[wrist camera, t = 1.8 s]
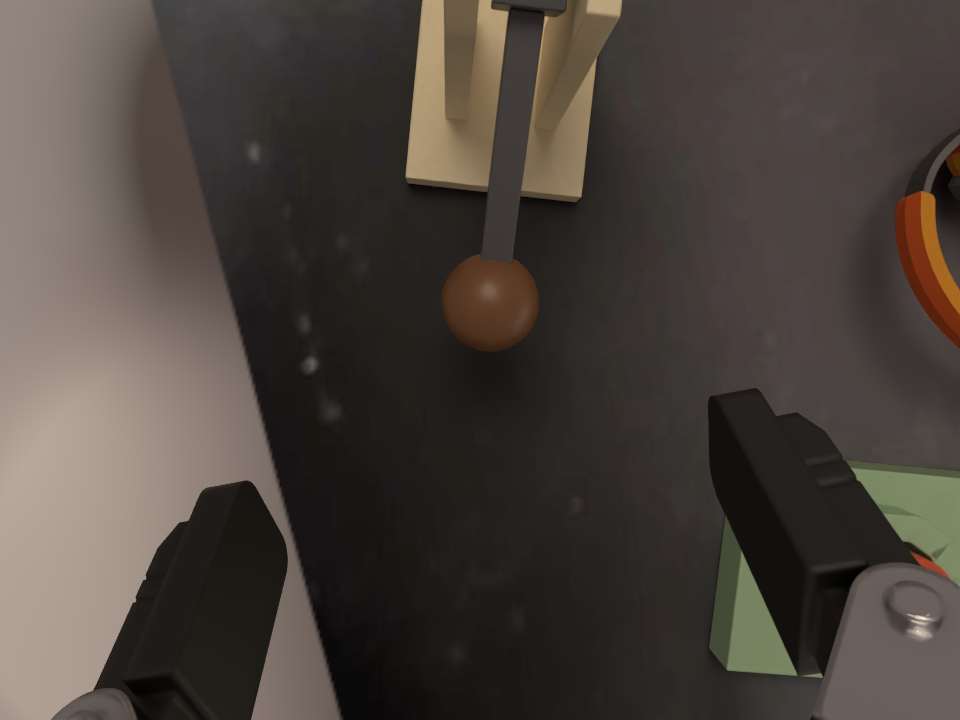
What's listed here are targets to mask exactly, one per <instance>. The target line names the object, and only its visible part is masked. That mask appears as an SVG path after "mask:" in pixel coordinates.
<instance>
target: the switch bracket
mask: <svg viewBox="0 0 960 720" xmlns="http://www.w3.org/2000/svg"><path fill="white" fill-rule="evenodd" d="M491 2H492V0H422V9H421V20H420V30H419V41H418V51H417V62H416V72H415V83H414V93H413V104H412V114H411V125H410V135H409V146H408V156H407V167H406V180H407V183H410V184H419V185H428V186H437V187H446V188H454V189H463V190H472V191H481V192H487V191H488V183H489V174H490V165H491V157H492V148H493V139H494V131H495V122H496V113H497V105H498V96H499V87H500V79H501V70H502V61H503V53H504V44H505V35H506V27H507V18H508V12H507V11H499V10H493V9H491ZM621 6H622V0H568V3H567V9H566V12H564V13H563V14H561V15H559V16H558V17H556V18H554V17H546V16H545V19H544V26H543V34H542V41H541V48H540V56H539V63H538V71H537V78H536V85H535V93H534V100H533V108H532V115H531V123H530V130H529V137H528V145H527V152H526V160H525V167H524V175H523V182H522V189H521V196H525V197H534V198H543V199H551V200H560V201H569V202H577V201H578V200H579V199H580V198H581V196H582V187H583V178H584V169H585V160H586V151H587V142H588V133H589V123H590V114H591V105H592V96H593V87H594V78H595V69H596V60H597V56H598V54H599V53H600V51H601V49H602V47H603V46H604V44H605V42H606V40H607V39H608V37H609V35H610V33H611V31H612V30H613V28H614V26H615V24H616V23H617V21H618V19H619V17H620V15H621Z"/></svg>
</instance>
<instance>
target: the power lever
mask: <svg viewBox="0 0 960 720" xmlns="http://www.w3.org/2000/svg"><path fill="white" fill-rule="evenodd" d="M567 3H568V0H492V2H491V9H493V10H499V11H507V12H508V18H507V27H506V35H505V44H504V53H503V61H502V70H501V79H500V87H499V96H498V105H497V113H496V122H495V131H494V139H493V148H492V157H491V165H490V174H489V183H488V191H487V200H486V209H485V217H484V226H483V235H482V243H481V252H480V254H478V255H475V256H472V257H470V258H468V259H466V260H464V261H463V262H461V263H460V264H459V265H458V266H457V267H455V268H454V270H453V271H452V272H451V273H450V275H449V276H448V278H447V280H446V282H445V284H444V288H443V291H442V296H441V307H442V314H443V318H444V320H445V322H446V325H447V326H448V328H449V330H450V331H451V332H452V334H453V335H454V336H455V337H456V338H457V339H458V340H459V341H461V342H462V343H464V344H465V345H467V346H469V347H471V348H473V349H477V350H480V351H491V352H492V351H500V350H504V349H507V348H509V347H512V346H514V345H515V344H517V343H518V342H520V341H521V340H522V339H523V338H524V337H525V336H526V335H527V334H528V333H529V332H530V330H531V329H532V327H533V325H534V323H535V321H536V318H537V315H538V311H539V294H538V289H537V286H536V283H535V281H534V279H533V277H532V276H531V274H530V273H529V271H528V270H527V269H526V268H525V267H524V266H523V265H522V264H521V263H519V262H518V261H516V260H515V259H513V258H512V256H513V249H514V241H515V234H516V226H517V219H518V212H519V204H520V197H521V189H522V182H523V175H524V167H525V160H526V152H527V145H528V137H529V130H530V123H531V115H532V108H533V100H534V93H535V85H536V78H537V71H538V63H539V56H540V48H541V41H542V34H543V26H544V19H545V16H546V17H554V18H556V17H558V16H559V15H561V14H563V13H564V12H566V9H567Z"/></svg>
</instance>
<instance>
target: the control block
mask: <svg viewBox="0 0 960 720" xmlns="http://www.w3.org/2000/svg"><path fill="white" fill-rule="evenodd" d="M846 462H847V463H848V465H849V466H850V468H851V469H852V470H853V472H854V473H855V475H856V478H857V481H860V482H861V483H862V484H863V486H864V487H865V489H866V490H867V492H868V493H869V494H870V496H871V497H872V499H873V500H874V501H875V503H876V504H877V506H878V507H879V509H880V510H881V511H882V513H883V514H884V516H885V517H886V518H887V520H888V521H889V523H890V524H891V525H892V527H893V528H894V530H895V531H896V533H897V534H898V535H899V537H900V538H901V540H902V541H903V542H904V544H905V545H906V547H907V548H908V550H910V551H912V552H914V553H916V554H918V555H920V556H922V557H924V558H926V559H928V560H930V561H932V562H934V563H935V564H937V565H938V566H940V567H941V568H942V569H943V570H944V571H945V572H946V573H947V574H948V576H949V577H950V579H951V580H952V581H954V582H955V583H956V584H958V585H959V586H960V471H952V470H942V469H931V468H921V467H910V466H899V465H889V464H878V463H868V462H857V461H847V460H846ZM709 649H710V650H711V651H712V652H713V654H714V655H715V656H716V657H717V659H718V660H719V661H720V662H721V664H722V665H723V666H724V667H725V669H726V670H728V671H741V672H754V673H767V674H780V675H794V676H798V675H797V673H796V671H795V669H794V667H793V664H792V662H791V660H790V658H789V655H788V653H787V651H786V649H785V647H784V644H783V642H782V640H781V638H780V635H779V633H778V631H777V629H776V626H775V624H774V622H773V620H772V618H771V615H770V613H769V611H768V609H767V606H766V604H765V602H764V600H763V598H762V595H761V593H760V591H759V589H758V586H757V584H756V582H755V580H754V577H753V575H752V573H751V571H750V569H749V566H748V564H747V562H746V560H745V557H744V555H743V553H742V551H741V549H740V546H739V544H738V542H737V540H736V537H735V535H734V533H733V531H732V528H731V526H730V524H729V522H728V520H727V517H726V515H725V523H724V531H723V539H722V547H721V555H720V563H719V571H718V579H717V587H716V595H715V603H714V612H713V620H712V628H711V636H710V644H709ZM805 676H807V677H820V678H823V676H822V674H821V673H819V674H812V675H805Z"/></svg>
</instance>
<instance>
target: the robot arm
mask: <svg viewBox="0 0 960 720" xmlns="http://www.w3.org/2000/svg"><path fill="white" fill-rule="evenodd" d="M708 420H709V461H710V471H711V476H712V481H713V485H714V488H715V491H716V494H717V497H718V499H719V502H720V504H721V506H722V508H723V511H724V513H725V515H726V517H727V520H728V522H729V524H730V526H731V528H732V531H733V533H734V535H735V537H736V540H737V542H738V544H739V546H740V549H741V551H742V553H743V555H744V557H745V560H746V562H747V564H748V566H749V569H750V571H751V573H752V575H753V577H754V580H755V582H756V584H757V586H758V589H759V591H760V593H761V595H762V598H763V600H764V602H765V604H766V606H767V609H768V611H769V613H770V615H771V618H772V620H773V622H774V624H775V626H776V629H777V631H778V633H779V635H780V638H781V640H782V642H783V644H784V647H785V649H786V651H787V653H788V655H789V658H790V660H791V662H792V664H793V667H794V669H795V671H796V673H797V675H798V676H805V675H812V674H819V673H821V674H822V676H823V681H822V685H821V688H820V691H819V695H818V698H817V701H816V705H815V708H814V711H813V714H812V717H811V719H810V720H960V586H959V585H958V584H956V583H955V582H954V581H952V580H950V579H949V578H947V577H946V576H944V575H942V574H940V573H938V572H936V571H934V570H931V569H928V568H926V567H922V566H921V565H920V564H919V563H918V561H917V560H916V559H915V558H914V557H913V555H912V554H911V552H910V551H909V550H908V548H907V547H906V545H905V544H904V542H903V541H902V540H901V538H900V537H899V535H898V534H897V533H896V531H895V530H894V528H893V527H892V525H891V524H890V523H889V521H888V520H887V518H886V517H885V516H884V514H883V513H882V511H881V510H880V509H879V507H878V506H877V504H876V503H875V501H874V500H873V499H872V497H871V496H870V494H869V493H868V492H867V490H866V489H865V487H864V486H863V484H862V483H861V482H860V481H857V478H856V475H855V473H854V472H853V470H852V469H851V468H850V466H849V465H848V463H847V462H846V460H843V459H842V455H841V453H840V452H839V451H838V449H837V448H836V446H835V445H834V443H833V442H832V441H831V439H830V438H829V436H828V435H827V434H826V432H825V431H824V430H822V429H821V428H819V427H818V426H816V425H815V424H813V423H812V422H810V421H809V420H807V419H806V418H804V417H803V416H801V415H800V414H798V413H792V414H786V415H781V416H776V415H775V414H774V412H773V411H772V409H771V407H770V406H769V404H768V403H767V401H766V400H765V398H764V396H763V395H762V393H761V392H760V391H759V390H758V389H756V388H753V389H747V390H742V391H736V392H731V393H726V394H720V395H715V396H711V397H710V398H709V402H708ZM287 565H288V556H287V548H286V544H285V541H284V538H283V536H282V534H281V532H280V530H279V528H278V526H277V525H276V523H275V521H274V519H273V517H272V516H271V514H270V512H269V510H268V509H267V507H266V505H265V503H264V501H263V500H262V498H261V496H260V494H259V492H258V491H257V489H256V487H255V486H254V485H253V483H251V482H250V481H242V482H236V483H230V484H225V485H220V486H215V487H209V488H206V489H204V490H203V491H202V492H201V494H200V496H199V498H198V500H197V502H196V505H195V507H194V509H193V512H192V514H191V517H190V519H189V521H186V522H180V523H179V524H178V525H177V526H176V527H175V528H174V530H173V531H172V532H171V533H170V534H169V536H168V537H167V538H166V539H165V540H164V541H163V542H162V544H161V545H160V546H159V547H158V549H157V551H156V553H155V555H154V557H153V560H152V562H151V564H150V566H149V569H148V571H147V573H146V580H143V582H142V584H141V586H140V589H139V591H138V593H137V595H136V602H135V603H133V604H132V606H131V609H130V611H129V613H128V615H127V617H126V620H125V622H124V624H123V626H122V628H121V631H120V633H119V635H118V637H117V640H116V642H115V644H114V646H113V649H112V651H111V653H110V655H109V657H108V660H107V662H106V664H105V666H104V669H103V671H102V673H101V675H100V677H99V680H98V682H97V684H96V686H95V688H94V690H93V691H91V692H89V693H86V694H84V695H82V696H80V697H78V698H77V699H75V700H73V701H72V702H70V703H69V704H68V705H66V706H65V707H64V708H63V709H61V710H60V711H59V712H58V713H57V714H56V715H55V716H54V717H53V718H52V719H51V720H251V717H252V713H253V708H254V705H255V700H256V696H257V692H258V688H259V683H260V680H261V675H262V672H263V668H264V663H265V659H266V655H267V651H268V647H269V643H270V639H271V635H272V630H273V626H274V622H275V618H276V614H277V610H278V606H279V602H280V597H281V593H282V589H283V585H284V581H285V576H286V572H287Z"/></svg>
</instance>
